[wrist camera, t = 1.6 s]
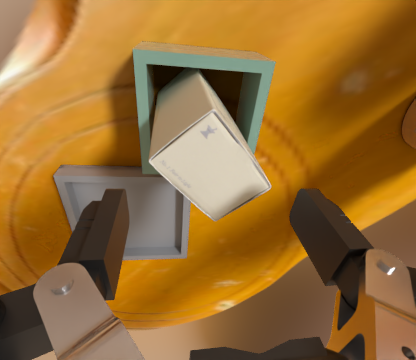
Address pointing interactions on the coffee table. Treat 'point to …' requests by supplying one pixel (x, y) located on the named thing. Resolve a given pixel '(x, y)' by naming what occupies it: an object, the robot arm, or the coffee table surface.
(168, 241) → the tray
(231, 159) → the skincare box
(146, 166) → the teal square open box
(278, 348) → the robot arm
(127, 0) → the coffee table surface
